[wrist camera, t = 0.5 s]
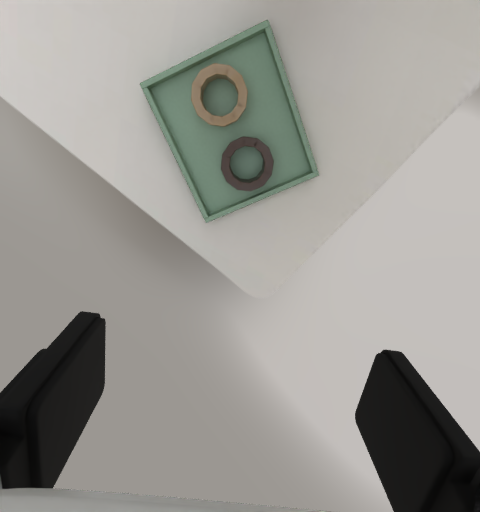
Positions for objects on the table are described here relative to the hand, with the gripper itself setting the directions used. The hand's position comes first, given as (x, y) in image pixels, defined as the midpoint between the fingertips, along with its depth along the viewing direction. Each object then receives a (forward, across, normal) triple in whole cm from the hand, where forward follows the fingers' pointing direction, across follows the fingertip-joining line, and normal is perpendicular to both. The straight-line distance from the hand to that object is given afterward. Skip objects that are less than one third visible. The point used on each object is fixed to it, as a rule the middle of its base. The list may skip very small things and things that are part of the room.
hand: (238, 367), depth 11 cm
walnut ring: (+32, -1, -5) cm, 33 cm away
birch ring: (+32, +4, -11) cm, 34 cm away
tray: (+33, +2, -8) cm, 34 cm away
